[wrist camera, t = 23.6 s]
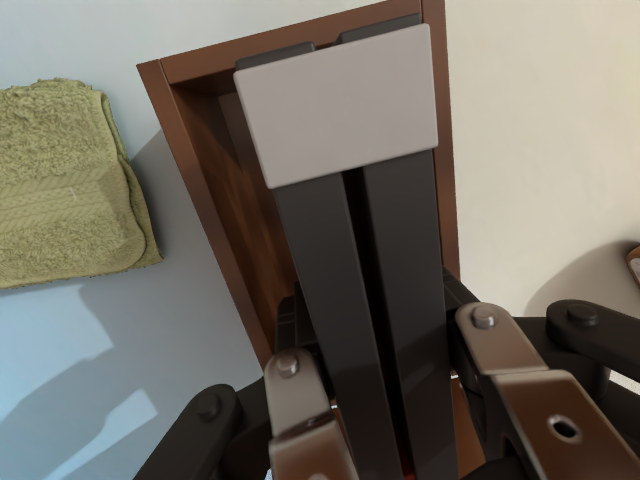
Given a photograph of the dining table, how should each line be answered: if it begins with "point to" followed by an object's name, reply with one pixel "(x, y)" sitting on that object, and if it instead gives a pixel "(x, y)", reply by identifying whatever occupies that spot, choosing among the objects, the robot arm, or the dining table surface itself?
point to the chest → (243, 165)
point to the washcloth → (67, 188)
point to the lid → (464, 429)
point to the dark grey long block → (364, 231)
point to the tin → (634, 263)
